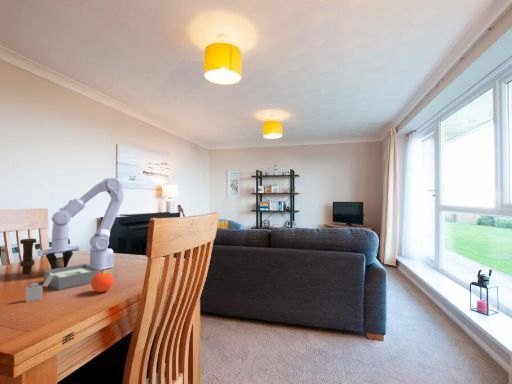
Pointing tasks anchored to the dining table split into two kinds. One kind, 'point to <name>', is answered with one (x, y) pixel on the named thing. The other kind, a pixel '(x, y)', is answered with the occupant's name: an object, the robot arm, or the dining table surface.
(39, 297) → the lighter
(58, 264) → the peg
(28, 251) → the bolt
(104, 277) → the clementine
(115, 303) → the dining table surface
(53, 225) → the robot arm
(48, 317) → the dining table surface
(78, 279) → the bore box
